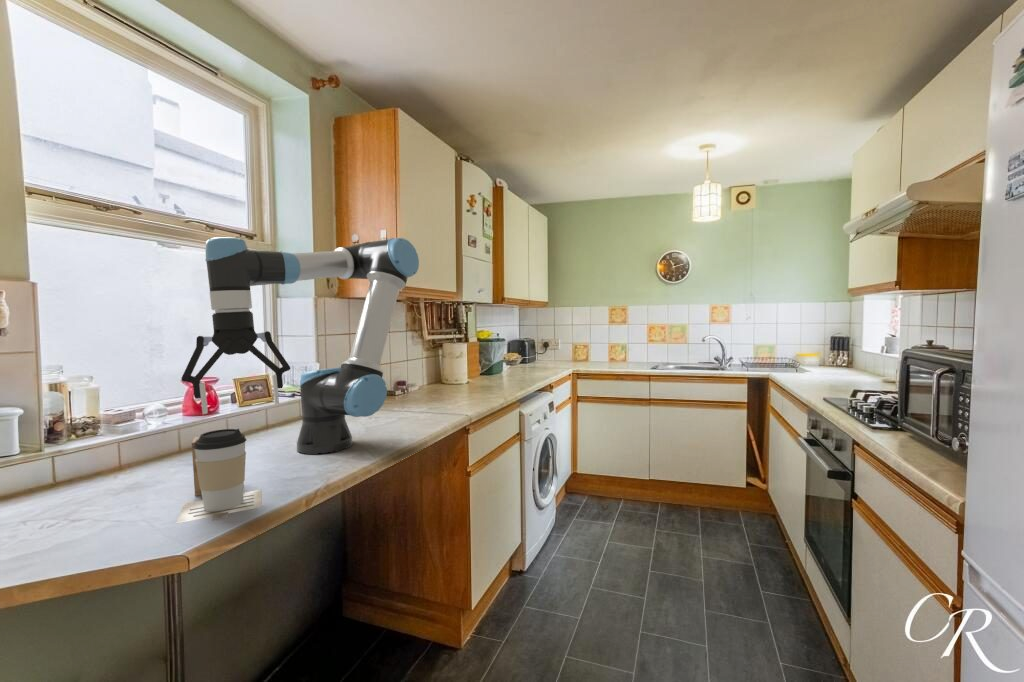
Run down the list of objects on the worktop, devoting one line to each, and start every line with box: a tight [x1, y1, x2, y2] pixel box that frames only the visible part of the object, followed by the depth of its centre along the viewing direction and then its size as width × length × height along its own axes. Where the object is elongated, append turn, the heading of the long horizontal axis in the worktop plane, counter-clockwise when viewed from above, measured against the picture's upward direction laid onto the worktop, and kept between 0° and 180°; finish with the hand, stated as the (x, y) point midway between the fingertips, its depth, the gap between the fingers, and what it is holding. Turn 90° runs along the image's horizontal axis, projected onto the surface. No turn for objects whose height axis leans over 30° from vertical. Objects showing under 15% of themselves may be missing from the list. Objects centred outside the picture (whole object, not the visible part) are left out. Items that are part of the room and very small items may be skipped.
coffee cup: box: [193, 427, 247, 512], centre depth 92 cm, size 9×9×15 cm
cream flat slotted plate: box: [175, 488, 263, 524], centre depth 92 cm, size 17×15×1 cm
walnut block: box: [191, 435, 202, 497], centre depth 101 cm, size 6×6×12 cm
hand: (242, 408), depth 101 cm, fingers open, 13 cm apart
